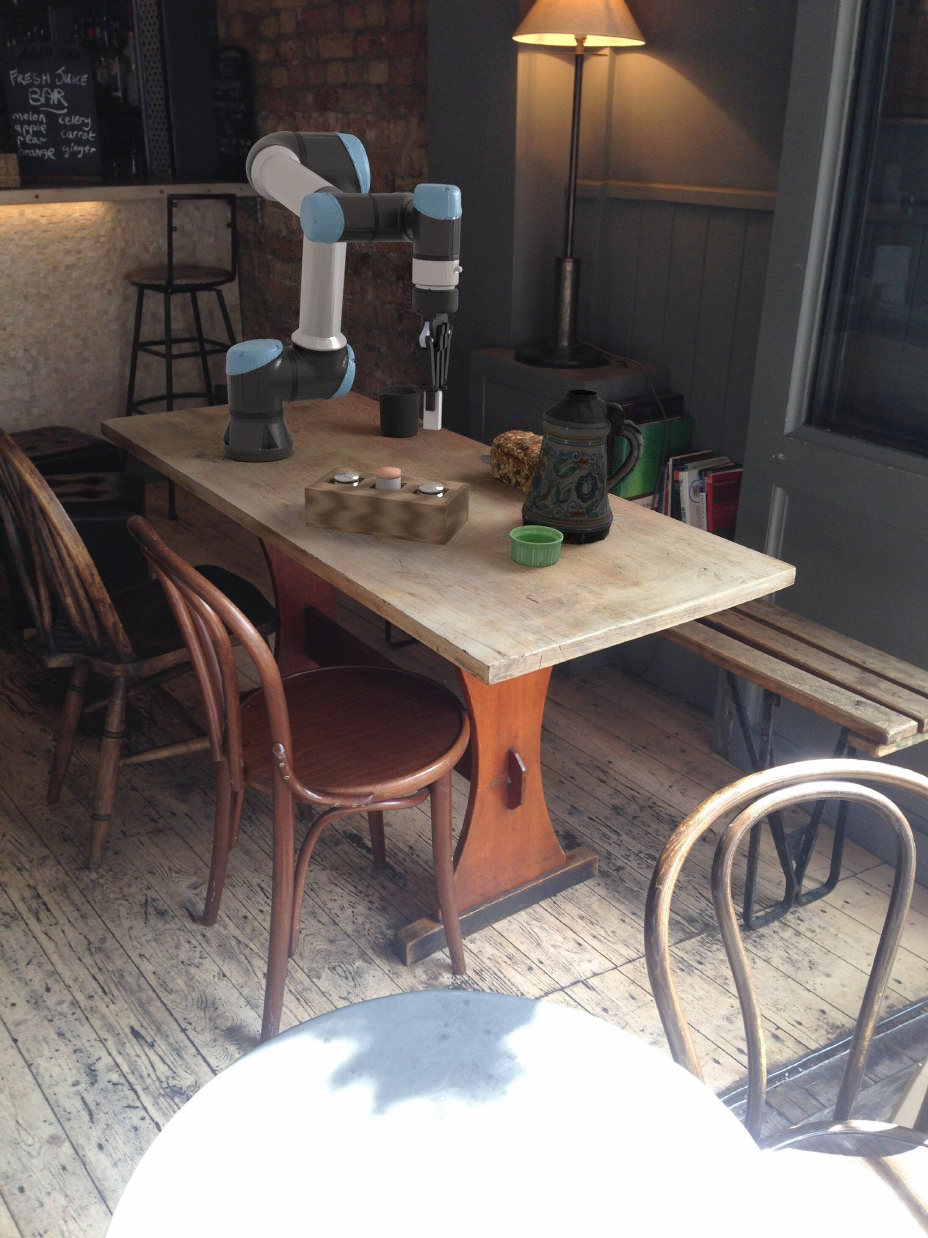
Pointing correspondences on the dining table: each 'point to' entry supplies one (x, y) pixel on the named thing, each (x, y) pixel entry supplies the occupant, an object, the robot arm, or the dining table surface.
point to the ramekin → (535, 545)
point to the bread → (515, 458)
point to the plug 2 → (431, 489)
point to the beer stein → (579, 467)
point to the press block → (387, 508)
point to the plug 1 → (346, 478)
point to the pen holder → (399, 411)
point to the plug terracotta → (388, 479)
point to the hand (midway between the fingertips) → (432, 428)
